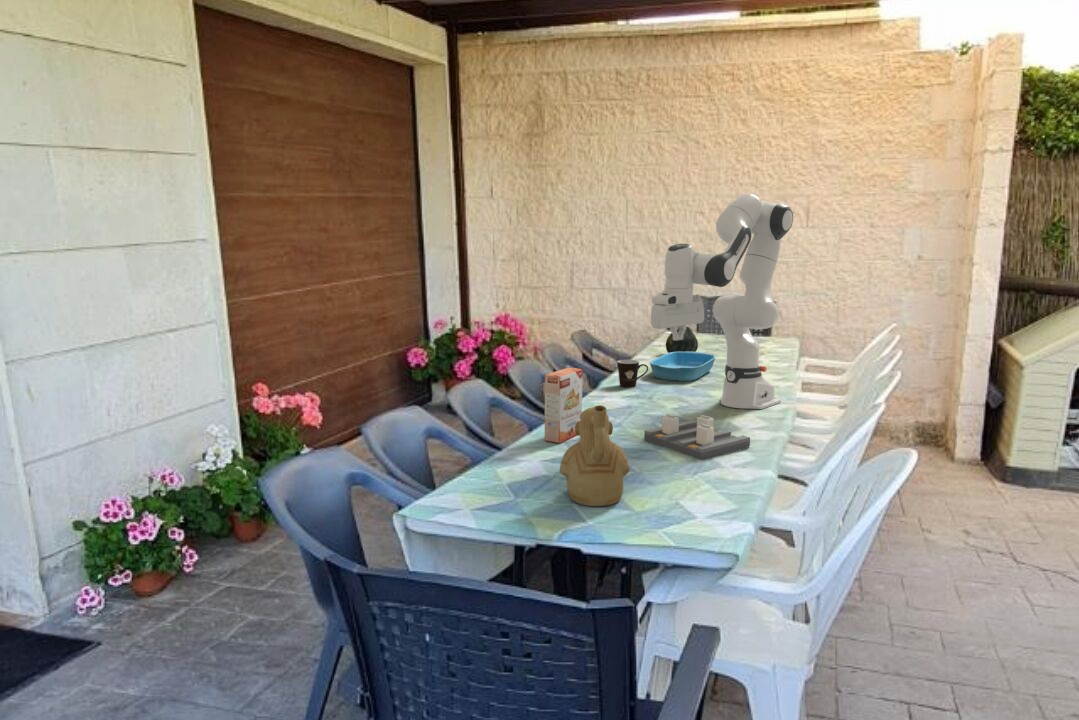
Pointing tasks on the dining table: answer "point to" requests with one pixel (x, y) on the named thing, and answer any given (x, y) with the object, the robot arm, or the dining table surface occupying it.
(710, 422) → the white rectangular block
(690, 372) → the casserole dish
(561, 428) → the cracker box
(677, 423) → the tab
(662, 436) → the switch board
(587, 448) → the ceramic vessel
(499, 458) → the dining table surface
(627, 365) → the coffee mug
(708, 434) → the tab
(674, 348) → the squash
